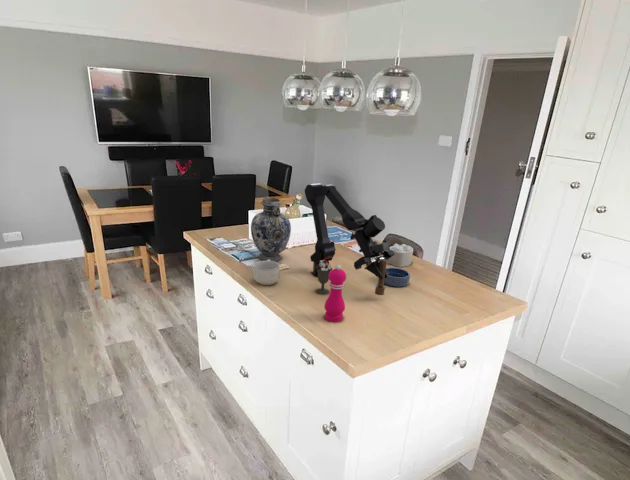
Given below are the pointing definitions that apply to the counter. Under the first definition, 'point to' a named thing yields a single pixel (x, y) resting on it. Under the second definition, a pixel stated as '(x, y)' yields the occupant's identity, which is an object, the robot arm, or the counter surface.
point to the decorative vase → (270, 230)
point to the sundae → (323, 275)
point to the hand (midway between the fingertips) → (384, 278)
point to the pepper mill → (335, 295)
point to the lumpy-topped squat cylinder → (401, 255)
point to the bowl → (397, 277)
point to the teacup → (266, 272)
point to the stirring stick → (380, 287)
